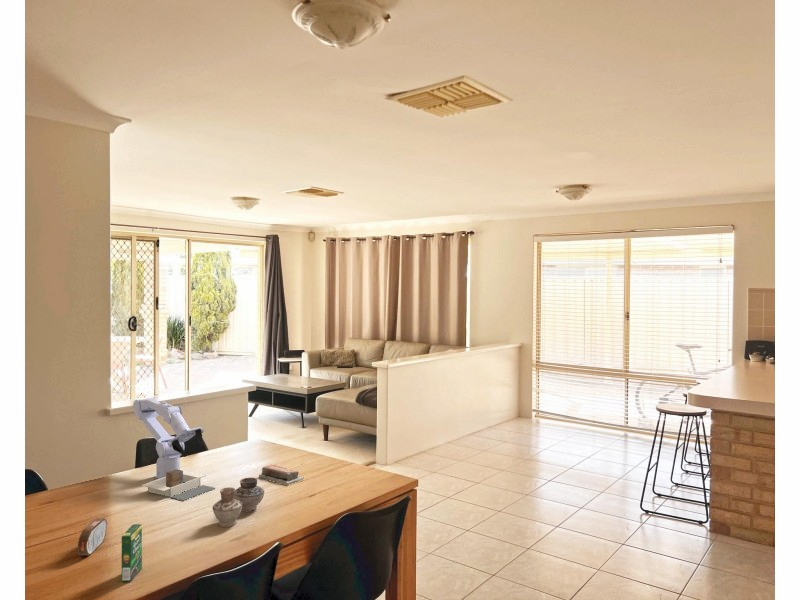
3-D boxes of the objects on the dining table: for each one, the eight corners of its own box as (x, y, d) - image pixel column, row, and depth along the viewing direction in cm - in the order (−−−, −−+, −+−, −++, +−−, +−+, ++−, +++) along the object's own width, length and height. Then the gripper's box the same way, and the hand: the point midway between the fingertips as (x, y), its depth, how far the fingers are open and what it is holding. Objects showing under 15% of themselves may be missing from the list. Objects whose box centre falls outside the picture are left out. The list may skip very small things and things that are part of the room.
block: (165, 489, 231) (166, 472, 231) (176, 486, 236) (176, 469, 236) (172, 491, 229) (172, 474, 229) (182, 487, 234) (182, 470, 234)
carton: (141, 493, 226) (141, 484, 226) (184, 478, 245) (184, 470, 245) (163, 499, 220) (163, 490, 220) (205, 483, 239) (206, 475, 239)
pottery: (205, 528, 194) (205, 493, 194) (242, 502, 218) (242, 470, 218) (235, 531, 191) (235, 496, 191) (269, 504, 216) (269, 473, 216)
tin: (98, 539, 185) (98, 513, 185) (108, 538, 185) (108, 513, 185) (76, 561, 170) (76, 532, 170) (87, 560, 170) (87, 532, 170)
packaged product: (257, 467, 247) (275, 461, 255) (257, 478, 247) (275, 472, 255) (287, 475, 237) (304, 469, 245) (287, 486, 237) (304, 480, 245)
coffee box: (131, 582, 157) (131, 535, 157) (120, 583, 157) (120, 535, 157) (142, 568, 165) (142, 523, 165) (132, 568, 165) (132, 523, 165)
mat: (170, 498, 222) (170, 497, 222) (203, 485, 236) (203, 484, 236) (183, 501, 218) (183, 500, 218) (215, 488, 233) (215, 487, 233)
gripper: (162, 429, 234) (175, 453, 226) (196, 414, 242) (210, 436, 234) (164, 440, 238) (177, 463, 231) (198, 424, 246) (211, 447, 239)
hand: (194, 450), depth 233 cm, fingers open, 7 cm apart
